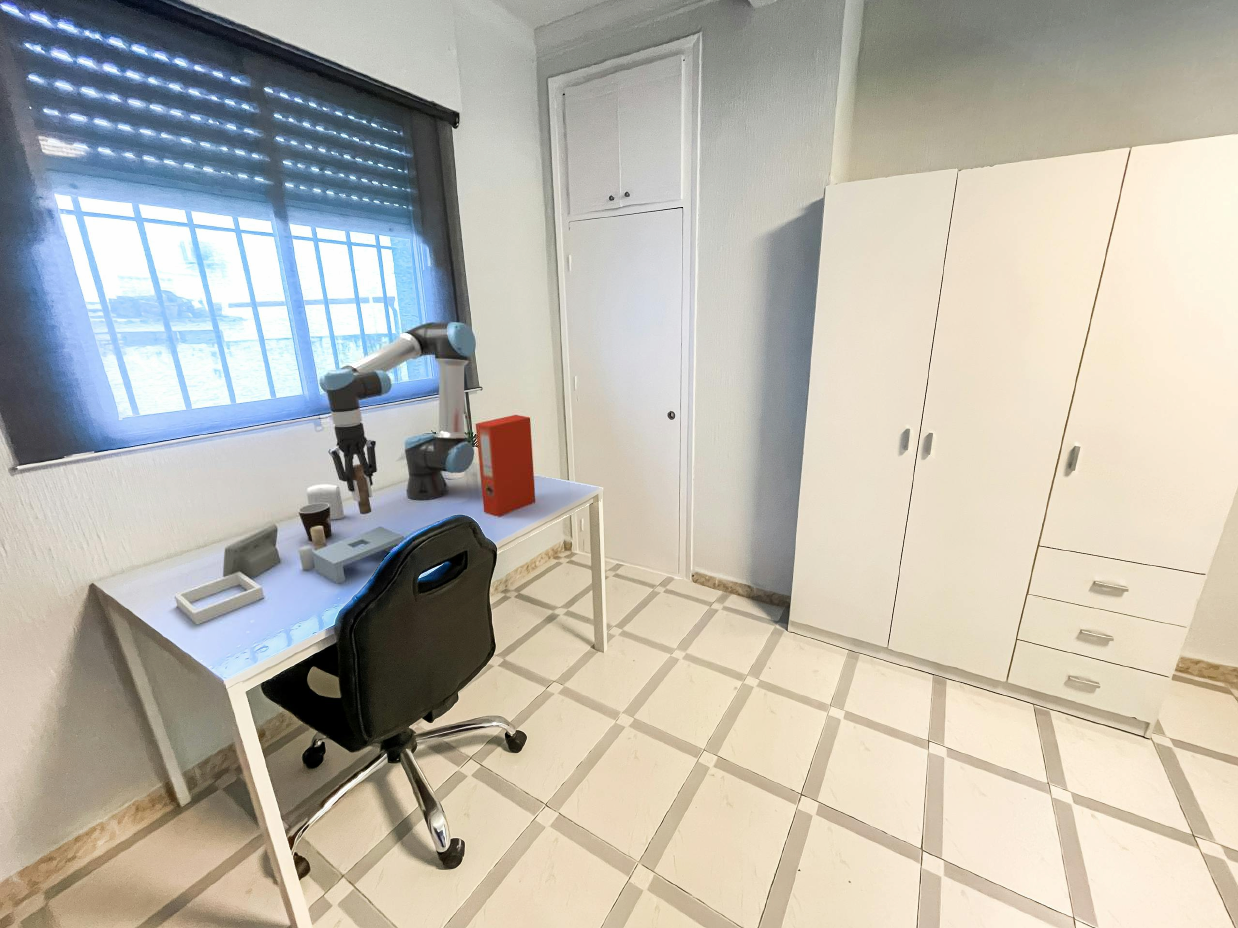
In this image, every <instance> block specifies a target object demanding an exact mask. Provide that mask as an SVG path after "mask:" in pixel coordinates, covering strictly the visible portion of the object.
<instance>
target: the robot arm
mask: <svg viewBox="0 0 1238 928" xmlns="http://www.w3.org/2000/svg"><path fill="white" fill-rule="evenodd" d="M476 347H477V341H476V336H475V334H474V332H473V330H472V329H471V327H470V326H469V325H467V324H465V323H464V322H457V321H448V322H447V321H446V322H434V321H433V322H426V323H422V324H420V325H418V326H415V327H413V328H411V329H409V330H407V331H404V333H401V334H399V336H398V337H397V339H396V340H395V341H392V342H391V343H388V344H387V345H384V346H382V347H380V348H379V349H377V350H374V351H372V352H370V353H369V354H366V355H365V356H363V357H361V358H359V359H357V360H355V361H353V362H350V363H349V364H346V365H345V366H343V367H341V368H339V369H330V370H325V371H323V372H322V373H321V375H320V376H319V381H318V382H319V386H320V388H321V390H322V391H323V392H325V393H326V395H327V400H328V404H329V409H330V414H331V419H332V423H333V424H334V427H333V429H334V432H335V433H334V434H335V438H336V440H337V442H336V446H335V447H334V448H333V449H329V450H328V454H329V455H330V456H331V457H332V461H333V464H334V468H335V470H336V474H337V477H338V480H339V481H342V482H343V483H344V482H346V485H347V489H348V492H350V493H351V494H352V501H355V502H357V503H358V502H359V501H360V496H359V491H358V486H357V481H356V480H354V478H353V465H354V458H355V455H356V456H357V459H358V462H359V464H361V465H363V470H364V475H365V480H366V486H367V491H368V496H369V499H371V498H373V492H372V488H371V487H372V486H373V484H374V483H373V479H372V478H373V476H374V473H377V472H378V468H377V459H376V458H377V457H376V449H375V448H376V446H377V445H376V444H377V441H376V440H372V439H367V437H366V436H365V429H364V423H362V421H363V417H362V413H361V407H360V401H362V400H366V399H367V400H368V399H372V398H375V397H381V396H384V395H387V394H389V393H390V391H391V389H392V379H391V377H390V376H389V374H388V372H389V371H391V370H392V369H394V368H397V367H398V366H400V365H401V364H403V363H406V362H407V361H409V360H417V359H419V358H421V357H424V356H434V361H436V363H437V364H438V365H439V366H438V367H439V369H438V370H439V372H438V373H439V376H438V377H439V378H438V380H439V381H438V382H439V383H438V384H439V385H438V391H439V392H438V393H439V394H438V431H437V432H436V433H435V432H434V433H431V432H430V433H424V434H417V435H414V436H410V437H408V438H406V439H405V441H404V452H405V458H406V464H407V471H408V481H407V485H406V486H407V487H406V497H407V498H408V499H411V500H416V501H421V500H422V501H423V500H426V501H427V500H432V499H437V498H439V497H443V496H444V495H446V494H447V493H448V492H449V489H448V488H449V487H448V484H447V481H446V479H445V477H444V476H443V474H442V472H447V473H451V474H461V473H464V472H466V471H467V470H468V469H469V468H470V466H471V465H472V463H473V461H474V457H475V449H474V447H473V445H472V444H471V443H470V442H468V435H467V434H466V433H465V432H464V421H465V420H464V415H465V412H464V410H465V409H464V408H465V407H464V406H465V405H464V403H465V402H464V401H465V400H464V398H465V367H466V365H467V364H469V361H470V358H469V357H471V356H472V355H473V354H474V353H475V351H476ZM365 447H366V452H365V450H364V449H365ZM340 451H341V452H342V453H343V459H344V464H343V461H342V458H341V453H340ZM366 455H367V457H366Z"/></svg>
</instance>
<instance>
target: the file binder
mask: <svg viewBox="0 0 1238 928" xmlns="http://www.w3.org/2000/svg"><path fill="white" fill-rule="evenodd" d="M475 430H476V431H475V433H476V441H477V452H478V463H479V473H480V475H479V476H480V483H481V484H480V485H481V494H482V505H483V512H484V513H486V514H488V515H491V516H494V517H496V516H500V517H502V516H504V515H506V514H509V513H512V512H514V511H517V510H519V509H522V508H524V507H526V506H527V507H528V506H529V505H531V504H535V503H536V489H535V475H534V458H533V442H532V441H533V440H532V425H531V417H530V416H524V415H519V414H513V415H508V416H504V417H500V418H495V419H491V420H486V421H481V422H477V423H475Z"/></svg>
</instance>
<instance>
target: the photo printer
mask: <svg viewBox="0 0 1238 928" xmlns="http://www.w3.org/2000/svg"><path fill="white" fill-rule="evenodd" d="M306 496H307V502H308V505H309V504H314V503H328V504H329V505H330V519H331V520H342V519H344V517H345V514H344V506H343V500H342V496H341V489H340V487H339V486H337V485H334V484H329V483H326V484H324V483H322V484H315V485H311V486H310V487H308V488H307V489H306Z"/></svg>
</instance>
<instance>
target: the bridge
mask: <svg viewBox="0 0 1238 928" xmlns="http://www.w3.org/2000/svg"><path fill="white" fill-rule="evenodd" d="M403 541H404V542H405V537H404V535H401V534H399V533H397V532H395V531H392V530H389V529H388V528H385V527H383V526H378V527H375V528H374V529H370V530H367V531H366V532H365V531H364V532H362V533H360V534H359V533H358V534H357V535H355V536H351V537H349V538H346V539H344V540H341V541H338V542H335V543H333V544H330V545H327V546H326V547H324V548H321V549H318V550H316V551H315V550H314V551H313V550H312V551H313V552H312V555H313V559H314V564H315V568H314V569H315V572H316V573H318V574H320V575H322V576H323V577H325V578H326V579H328V580H330V581H332V582H334V583H335V584H337V585H339V584H341V583H344V582H346V576H345V572H344V566H345V565H348V564H350V563H352V562H356V561H358V560H360V559H363V558H366V557H367V556H370V555H373V554H375V553H377V552H380V551H382V550H383V551H386V552H387V553H389V552H390V551H391V550H392V549H393V548H394V547H396V546H398V545H399V544H400V543H402V542H403ZM360 545H361V546H360ZM358 546H359V547H358Z"/></svg>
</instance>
